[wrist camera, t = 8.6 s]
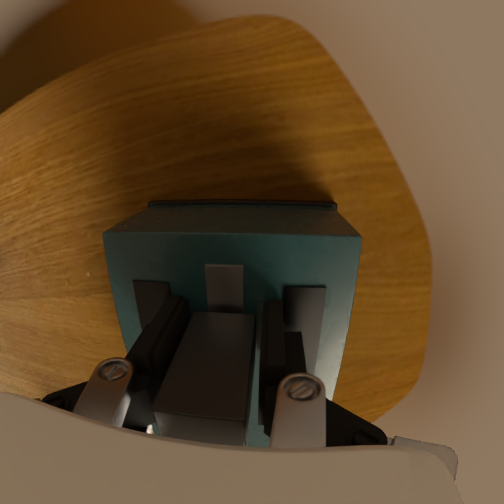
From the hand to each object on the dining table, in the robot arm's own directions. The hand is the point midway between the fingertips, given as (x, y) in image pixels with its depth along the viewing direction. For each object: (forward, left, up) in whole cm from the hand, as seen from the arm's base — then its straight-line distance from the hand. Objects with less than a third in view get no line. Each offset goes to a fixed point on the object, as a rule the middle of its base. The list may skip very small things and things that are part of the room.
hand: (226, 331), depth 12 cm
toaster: (0, +3, -6) cm, 7 cm away
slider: (0, 0, 0) cm, 0 cm away
